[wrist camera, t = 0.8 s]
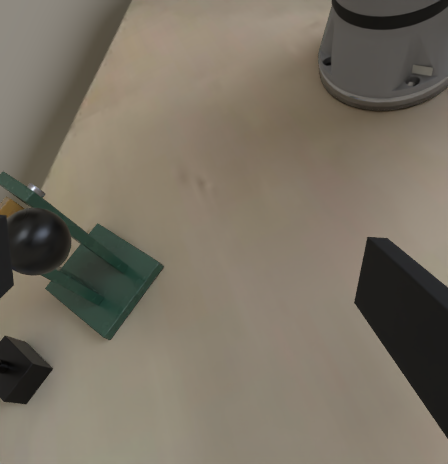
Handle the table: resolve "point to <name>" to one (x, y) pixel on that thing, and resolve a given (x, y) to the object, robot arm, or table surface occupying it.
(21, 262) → the switch lever
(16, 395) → the blue knob joystick
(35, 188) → the switch bracket
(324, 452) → the table surface
